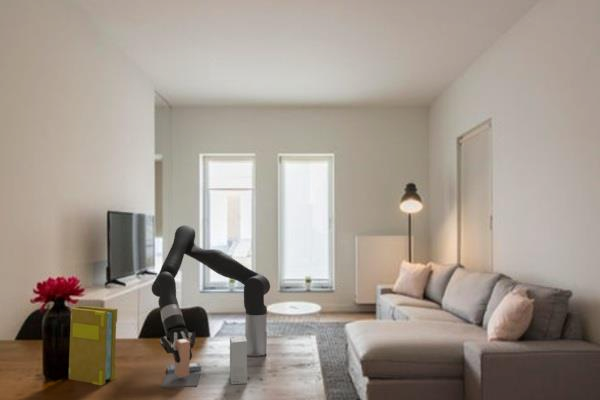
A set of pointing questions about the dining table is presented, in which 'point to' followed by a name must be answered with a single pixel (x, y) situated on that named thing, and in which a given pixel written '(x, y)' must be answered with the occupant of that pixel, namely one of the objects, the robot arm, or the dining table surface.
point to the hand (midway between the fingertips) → (184, 360)
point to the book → (92, 344)
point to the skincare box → (238, 360)
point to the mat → (181, 380)
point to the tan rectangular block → (183, 358)
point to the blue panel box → (192, 367)
